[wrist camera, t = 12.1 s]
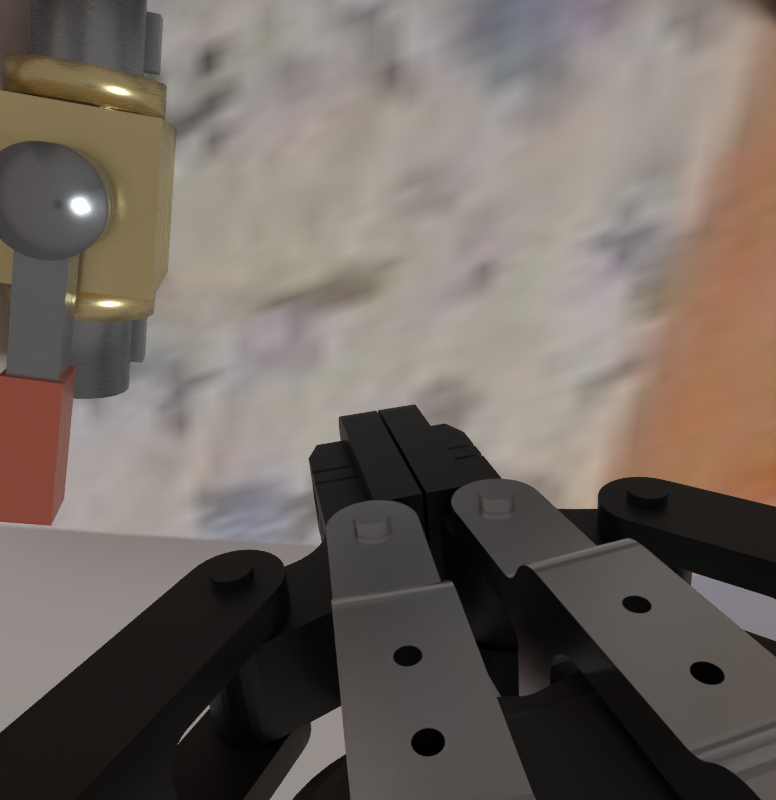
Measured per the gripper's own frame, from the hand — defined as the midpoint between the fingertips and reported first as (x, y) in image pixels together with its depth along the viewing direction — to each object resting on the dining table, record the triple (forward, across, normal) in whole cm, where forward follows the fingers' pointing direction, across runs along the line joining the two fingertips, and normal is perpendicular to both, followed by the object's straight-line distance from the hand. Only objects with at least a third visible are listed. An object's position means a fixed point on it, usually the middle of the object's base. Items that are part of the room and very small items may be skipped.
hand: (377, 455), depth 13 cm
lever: (+17, +10, 0) cm, 20 cm away
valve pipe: (+26, +9, -4) cm, 27 cm away
